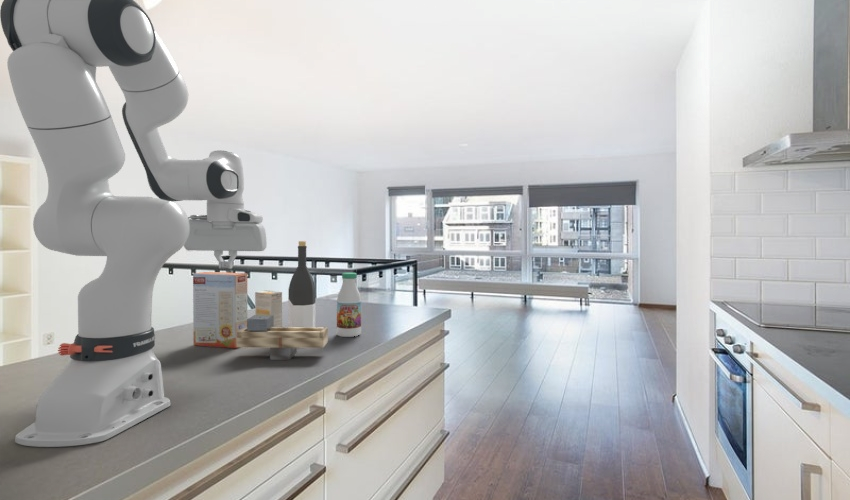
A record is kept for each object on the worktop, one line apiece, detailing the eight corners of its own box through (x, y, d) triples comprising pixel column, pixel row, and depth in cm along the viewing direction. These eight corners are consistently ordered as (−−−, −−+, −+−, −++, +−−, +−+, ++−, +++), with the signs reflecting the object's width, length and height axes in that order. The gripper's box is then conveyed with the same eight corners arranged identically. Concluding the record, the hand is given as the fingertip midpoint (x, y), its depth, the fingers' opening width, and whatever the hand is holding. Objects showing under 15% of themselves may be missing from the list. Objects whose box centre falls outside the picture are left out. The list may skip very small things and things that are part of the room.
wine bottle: (317, 339, 134) (317, 241, 132) (289, 341, 131) (289, 241, 129) (313, 333, 141) (313, 241, 140) (287, 335, 138) (287, 240, 137)
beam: (327, 352, 120) (328, 326, 120) (322, 359, 113) (323, 332, 113) (246, 352, 119) (246, 326, 119) (236, 359, 112) (236, 332, 112)
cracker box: (248, 344, 127) (248, 272, 126) (235, 349, 121) (234, 274, 121) (207, 340, 131) (207, 270, 130) (192, 345, 125) (192, 272, 124)
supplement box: (283, 331, 144) (283, 291, 144) (271, 334, 140) (271, 293, 140) (266, 328, 149) (266, 289, 148) (254, 330, 144) (254, 291, 144)
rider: (273, 331, 118) (273, 315, 118) (267, 336, 113) (266, 319, 113) (254, 331, 118) (254, 315, 118) (247, 336, 113) (247, 319, 112)
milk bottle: (334, 333, 142) (334, 272, 141) (357, 331, 146) (357, 271, 145) (340, 338, 135) (340, 274, 134) (364, 336, 139) (364, 273, 138)
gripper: (178, 214, 110) (178, 268, 111) (260, 215, 111) (260, 269, 112) (190, 215, 117) (191, 266, 117) (268, 216, 117) (268, 267, 118)
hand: (225, 268), depth 114 cm, fingers closed
